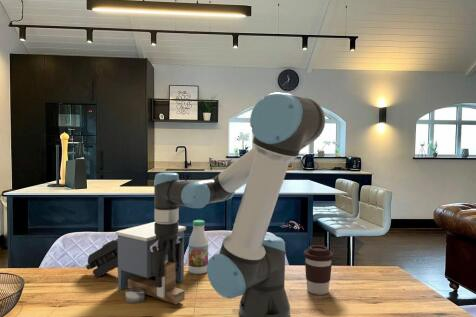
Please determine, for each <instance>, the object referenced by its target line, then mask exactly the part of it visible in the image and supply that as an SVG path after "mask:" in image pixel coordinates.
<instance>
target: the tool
mask: <svg viewBox="0 0 476 317" xmlns="http://www.w3.org/2000/svg"><path fill="white" fill-rule="evenodd" d="M86 262H87V265H86V266H85V268H86V270H88V271H89V270H92V269H93V270H92V274H93V276H94V277H95V278H99V277H101V276H103V275H105V274H107V273H109V272H111V271H112V270H115V269H116V268H117V269H118V238H116V239H112V240H110V241H108V242H107V243H104V244H103V245H102V246H101V247H100V248H99V249H97V250H96V251H94V252H92V253H91V254H89V255H88V257H87V261H86Z"/></svg>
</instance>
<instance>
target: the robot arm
mask: <svg viewBox="0 0 476 317" xmlns="http://www.w3.org/2000/svg"><path fill="white" fill-rule="evenodd" d="M253 106H254V107H253V109H252V110H251V114H250V118H249V123H250V124H249V125H250V127H251V131H252V134H253V140H252V145H253V147H252V148H251V149H250V150H249V151H247V152H245V154H243V155H242V156H240V157H239V158H238V159H236V161H234V162H233V163H231V164H230V165H229V166H227V167H226V168H225V169H224V170H222V171H221V172H220V173H219V174H217V175H216V176H214V177H212V178H210V179H200V180H193V181H191V180H190V181H189V180H188V181H186V180H180V178H179V177H180V176H179V173H177V172H159V173H156V174H155V176H154V184H153V187H154V192H153V194H154V200H153V202H154V222H155V223H154V233H155V235H156V240H155V243H154V244H153V245H149V246H148V249H149V252H150V275H151V276H153V277H155V281H156V287H157V296H159V297H162V298H164V297H165V277H164V276H163V272H164V265H165V258H166V255H168V261H170V262H174V263H175V280H176V272H178V271H179V269H178V268H180V267H181V255H182V242H183V238H181V237H177V233H178V227H179V226H180V225H179V219H180V218H179V217H180V216H179V213H180V212H179V209H180V207H186V208H190V209H202V208H203V209H204V207H205V206H207V205H208V204H212V203H219V202H225V201H227V200H230V199H232V198H233V197H234V195H235V193H236V191H237V190H239V189H241V188H242V187H243V186H244V191H243V194H242V197H241V201H240V203H239V207H238V209H237V210H238V211H237V213H236V217H235V220H234V224H233V228H232V231H231V234H229V235H227V236H225V237H224V238H223V241H222V244H221V247H220V249H219V253H216V254H214V255H212V256H211V257H210V258H209V259H208V264H207V272H206V274H207V278H208V280H209V282H210V285H211V288H213V290H214V291H215V292H216V293H217V294H218V295H219V296H221V297H223V298H226V299H235V298H237V297H241V298H240V301H239V305H238V306H239V309H238V310H239V312H238V314H239V315H240V316H241V317H290V315H291V304H290V302H289V299H288V296H287V291H286V288H285V282H286V281H285V278H286V277H285V272H286V252H287V251H286V241H285V240H284V238H281V237H279V236H276V235H270V234H267V231H268V228H269V226H270V222H271V219H272V216H273V214H274V209H275V207H276V205H277V201H278V198H279V195H280V193H281V188H282V185H283V184H284V180H285V177H286V175H287V172H288V168H289V165H290V163H291V161H292V160H294V159H297V158H298V157H299V155H300V152H301V150H303V149H305V148H306V147H307V146H309V145H310V144H312V143H313V142H314V141H316V140H317V139H318V138H319V137H320V136H321V134H322V133H323V132H324V129H325V124H326V117H325V116H326V115H325V112H324V110H323V108H322V107H321V106H320V104H319V103H318V102H316V101H315V100H313V99H311V98H308V97H302V96H298V95H293V94H291V93H286V92H273V93H269V94H267V95H264V96H263V97H261V98H260V99H259V100H258V101H257V102H256V104H255V105H253ZM179 206H180V207H179ZM162 251H163V252H162Z"/></svg>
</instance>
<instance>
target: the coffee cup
mask: <svg viewBox="0 0 476 317" xmlns="http://www.w3.org/2000/svg"><path fill="white" fill-rule="evenodd" d="M303 257H304V258H305V261H304V267H305V268H304V270H305V279H306V290H307V291H308V293H310V294H313V295H318V296H319V295H320V296H321V295H322V296H323V295H326V294H328V293H329V292H330V290H329V289H330V281H331V276H332V274H331V273H332V260H333V259H334V252H332V251H331V250H330V248H329V247H327V246H323V245H316V244H315V245H310V246H308V248H307V249H305V250H304V251H303Z"/></svg>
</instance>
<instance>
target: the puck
mask: <svg viewBox="0 0 476 317" xmlns="http://www.w3.org/2000/svg"><path fill="white" fill-rule="evenodd" d="M145 299H146V294H145V289H144V288H142V287H133V288H126V290H125V302H126V303H128V304H139V303H142V302H143V301H145Z"/></svg>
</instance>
